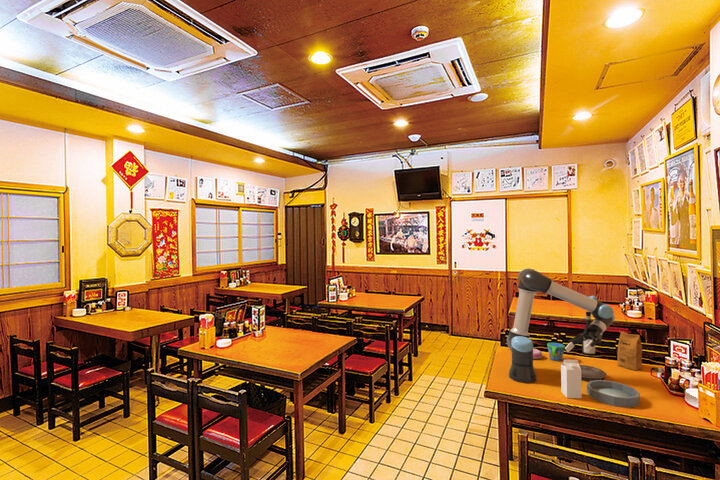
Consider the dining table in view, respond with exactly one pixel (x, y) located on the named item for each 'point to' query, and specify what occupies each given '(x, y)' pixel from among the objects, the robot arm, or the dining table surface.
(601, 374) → the plant saucer
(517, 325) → the robot arm
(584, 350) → the wine bottle
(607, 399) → the bowl
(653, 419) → the dining table surface
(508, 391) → the dining table surface
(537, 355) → the donut
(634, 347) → the coffee package
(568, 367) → the milk carton
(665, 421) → the dining table surface
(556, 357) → the snack cup
